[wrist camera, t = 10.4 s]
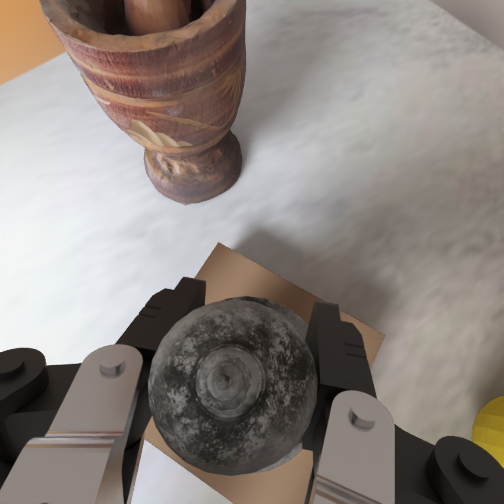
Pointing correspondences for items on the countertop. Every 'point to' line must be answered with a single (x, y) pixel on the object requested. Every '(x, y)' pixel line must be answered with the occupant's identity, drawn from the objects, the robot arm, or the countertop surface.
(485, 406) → the lemon
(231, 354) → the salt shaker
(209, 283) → the walnut plinth
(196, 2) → the mortar and pestle
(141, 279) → the countertop surface
